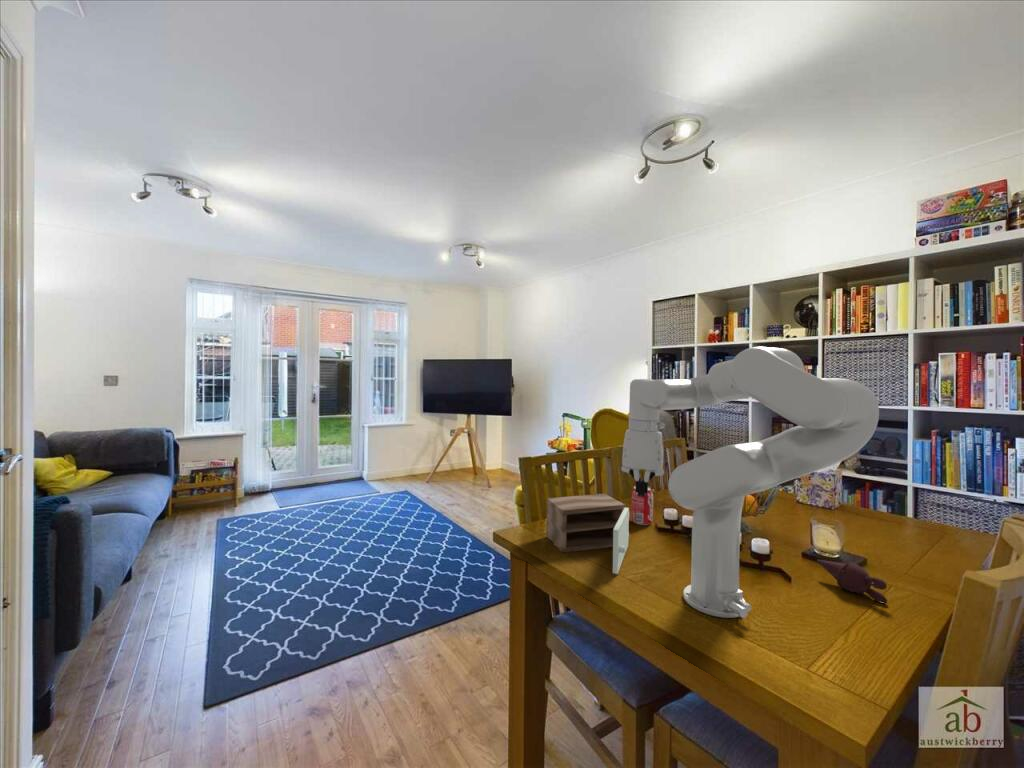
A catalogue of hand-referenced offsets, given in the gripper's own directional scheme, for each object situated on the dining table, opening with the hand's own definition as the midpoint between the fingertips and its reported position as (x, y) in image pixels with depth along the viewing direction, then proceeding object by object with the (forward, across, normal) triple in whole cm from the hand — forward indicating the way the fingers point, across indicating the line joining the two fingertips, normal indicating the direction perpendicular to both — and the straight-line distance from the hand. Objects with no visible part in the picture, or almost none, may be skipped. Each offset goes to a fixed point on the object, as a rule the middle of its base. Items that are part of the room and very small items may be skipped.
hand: (641, 495), depth 111 cm
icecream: (+18, -47, -7) cm, 51 cm away
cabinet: (+19, +17, -10) cm, 27 cm away
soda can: (+19, +3, -33) cm, 38 cm away
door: (+18, +4, -1) cm, 19 cm away
